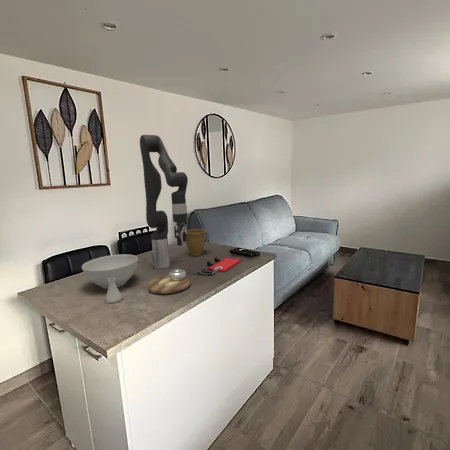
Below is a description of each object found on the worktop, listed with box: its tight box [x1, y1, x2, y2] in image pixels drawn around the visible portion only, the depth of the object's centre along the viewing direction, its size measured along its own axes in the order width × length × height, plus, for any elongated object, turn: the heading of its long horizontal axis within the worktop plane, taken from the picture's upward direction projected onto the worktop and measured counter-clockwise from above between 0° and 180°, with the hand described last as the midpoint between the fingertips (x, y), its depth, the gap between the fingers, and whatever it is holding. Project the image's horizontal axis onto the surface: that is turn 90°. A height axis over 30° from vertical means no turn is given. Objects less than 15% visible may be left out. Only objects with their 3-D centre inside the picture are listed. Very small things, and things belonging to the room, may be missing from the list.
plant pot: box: [185, 228, 207, 257], centre depth 194 cm, size 15×15×16 cm
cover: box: [168, 268, 187, 282], centre depth 145 cm, size 8×8×5 cm
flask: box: [104, 278, 124, 304], centre depth 130 cm, size 7×7×10 cm
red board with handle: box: [197, 257, 243, 276], centre depth 168 cm, size 30×3×15 cm
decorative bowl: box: [81, 253, 139, 290], centre depth 149 cm, size 27×27×12 cm
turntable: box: [147, 274, 191, 295], centre depth 142 cm, size 20×20×3 cm
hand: (182, 243), depth 151 cm, fingers open, 8 cm apart
